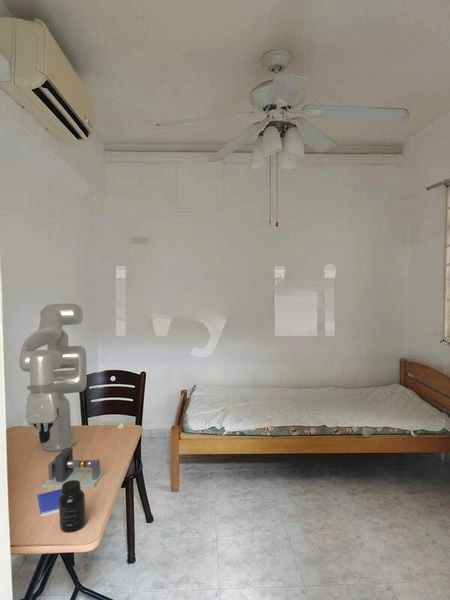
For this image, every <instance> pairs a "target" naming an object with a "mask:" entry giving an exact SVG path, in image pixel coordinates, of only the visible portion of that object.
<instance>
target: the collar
mask: <svg viewBox="0 0 450 600" xmlns="http://www.w3.org/2000/svg"><path fill="white" fill-rule="evenodd" d="M54 460H55V468H56V481H64V480H65V478H66V477H67V476H68V475H69V474H70V473H71V472H72V471H73V470H74V468H65V461H64V460H74V456H73V447H70V448H65V449H64V450H61V451H60V452H59V453H58V454H57V455H56V456H55V457H54Z"/></svg>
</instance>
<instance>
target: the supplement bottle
mask: <svg viewBox="0 0 450 600" xmlns="http://www.w3.org/2000/svg"><path fill="white" fill-rule="evenodd" d="M81 488H82V487H81V486H80V482H79V481H78V480H71V481H68V482H65V483H64V484H63V485H62V487H61V489H62V494H61V495H60V497H59V512H58V514H59V527H60V530H61V532H64V533H76V532H77V531H79V530H81V529H83V528H84V527H85V525H86V522H87V517H86V515H87V514H86V496H85V492H84V491H83V490H82V489H81Z"/></svg>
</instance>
